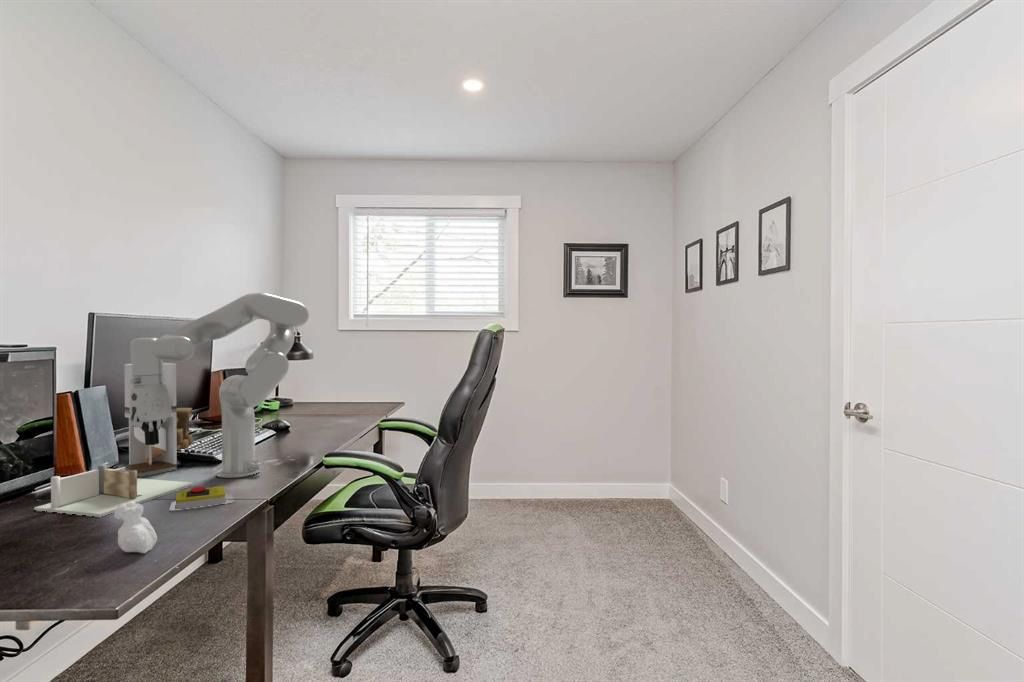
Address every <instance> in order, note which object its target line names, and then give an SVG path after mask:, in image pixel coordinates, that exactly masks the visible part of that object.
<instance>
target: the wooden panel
mask: <svg viewBox="0 0 1024 682" xmlns="http://www.w3.org/2000/svg"><path fill="white" fill-rule="evenodd" d="M137 478H138V476H137V470H132V471H125V470H123V469H122V470H121V469H114V468H107V469H104V494H110V495H116V496H122V497H128V498H136V497H137Z"/></svg>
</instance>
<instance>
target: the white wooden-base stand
mask: <svg viewBox="0 0 1024 682" xmlns="http://www.w3.org/2000/svg"><path fill="white" fill-rule="evenodd" d="M123 369H124V371H123V372H124V417H125V418H128V460H129V462H128V464H126V465H125V466H124V471H132V470H137V477H139V476H140V477H139V478H143V477H147V476H146V475H148V476H152V475H151V474H153V475H158V474H157V473H159V474H163V473H162V472H164V473H168V472H167V471H169V472H173V471H172V470H174V471H178V464H177V463H178V458H177V456H178V455H177V420H176V408H177V364H176V363H171V362H170V363H169V362H168V363H167V362H163V374H164V384H167V387H168V391H169V395H170V401H171V411H172V413H171V416H169V417H168V420H166V421H165V422H163V423H162V424H161V427H160V429H159V430H158V433H159V444H155V445H146V444H145V432H144V431H142V429H141V428H140V427H133V421H131V418H130V394H131V388H132V387H133V384H131V382H130V380H131V379H132V364H131V363H125V364H124V368H123ZM146 424H147V423H146ZM142 476H143V477H142Z"/></svg>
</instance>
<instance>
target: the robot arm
mask: <svg viewBox="0 0 1024 682" xmlns="http://www.w3.org/2000/svg"><path fill="white" fill-rule="evenodd" d="M309 317H310V313H309V310H308V308H307V307H306V305H305V304H303V303H301V302H299V301H296V300H292V299H288V298H285V297H281V296H278V295H275V294H274V295H273V294H269V293H266V292H255V293H247V294H244V295H243V296H240V297H238V298H236V299H234V300H233V301H231V302H229V303H226V304H225V305H224V306H221V307H219V308H218V309H216V310H214V311H211V312H210V313H208V314H206V315H203V316H201V317H199V318H196V319H195V320H192V321H191V322H188V323H186V324H183V325H181V326H179V327H177V328H175V329H173V330H171V331H170V332H168V333H166V334H164V335H163V336H160V337H138V338H133V339H132V340H131V341H130V347H129V348H130V360H131V362H130V364H132V379H131V380H130V382H131V384H133V387H132V388H131V394H130V418H131V421H133V427H140V428H141V429H142V431H144V432H145V444H146V445H155V444H159V433H158V430H159V429H160V427H161V424H162V423H163V422H165V421H166V420H168V417H169V416H171V413H172V411H171V401H170V395H169V391H168V387H167V384H164V374H163V363H164V362H184V361H187V360H190V359H191V358H192V357H193V356H194V354H195V351H196V347H198V346H200V345H202V344H204V343H207V342H210V341H215V340H220V339H222V338H225V337H228V336H230V335H232V334H233V333H235V332H236V331H239V330H241V329H242V328H244V327H246V326H247V325H249V324H251V323H253V322H254V321H256V320H266V321H269V327H270V329H269V333H268V335H267V336H266V338H265V339H264V340H263V342H261V344H260V345H259V346H257V348H256V349H255V350H254V351H253V352H252V354H250V355H249V357H248V358H247V360H245V361H246V362H245V364H244V369H245V372H246V373H247V375H242V374H241V375H239V374H234V375H231V376H228V377H227V378H225V379H224V380H223V381H222V383H220V385H219V391H218V396H219V403H220V410H221V468H220V469H218V470H217V471H216V473H215V475H216V476H217V477H218V478H222V479H233V478H234V479H235V478H236V479H237V478H245V477H250V476H254V475H256V473H257V474H259V473H258V472H261V471H262V470H263V468H264V466H265V463H264V462H258V461H259V459H258V458H257V457H256V443H255V442H256V431H255V429H256V426H255V425H256V420H255V419H256V416H255V410H254V409H255V407H258V406H259V405H261V404H262V403H263V402H265V401H266V400H267V399H268V397H269V396H270V395H271V394H272V393H273V392H274V390H275V389H276V388H277V387H278V386H279V384H280V383H281V382H282V381H283V379H285V377H286V376H287V374H288V372H289V368H290V365H289V363H290V362H289V359H288V357H287V355H288V354H289V352H290V351H291V349H292V347H293V345H294V343H295V328H300V327H302V326H304V325H305V324H306V323H307V322H308V319H309ZM146 423H147V424H146ZM253 474H254V475H253ZM249 475H250V476H249Z"/></svg>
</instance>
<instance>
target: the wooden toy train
mask: <svg viewBox="0 0 1024 682" xmlns="http://www.w3.org/2000/svg"><path fill="white" fill-rule="evenodd" d="M192 417H193V408H192V407H176V420H177V450H180V449H185V448H188V447H189V445H191V444H193V445H194V437H193V435H192V434H190V433H189V432H190V431H189V430H190V418H192Z"/></svg>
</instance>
